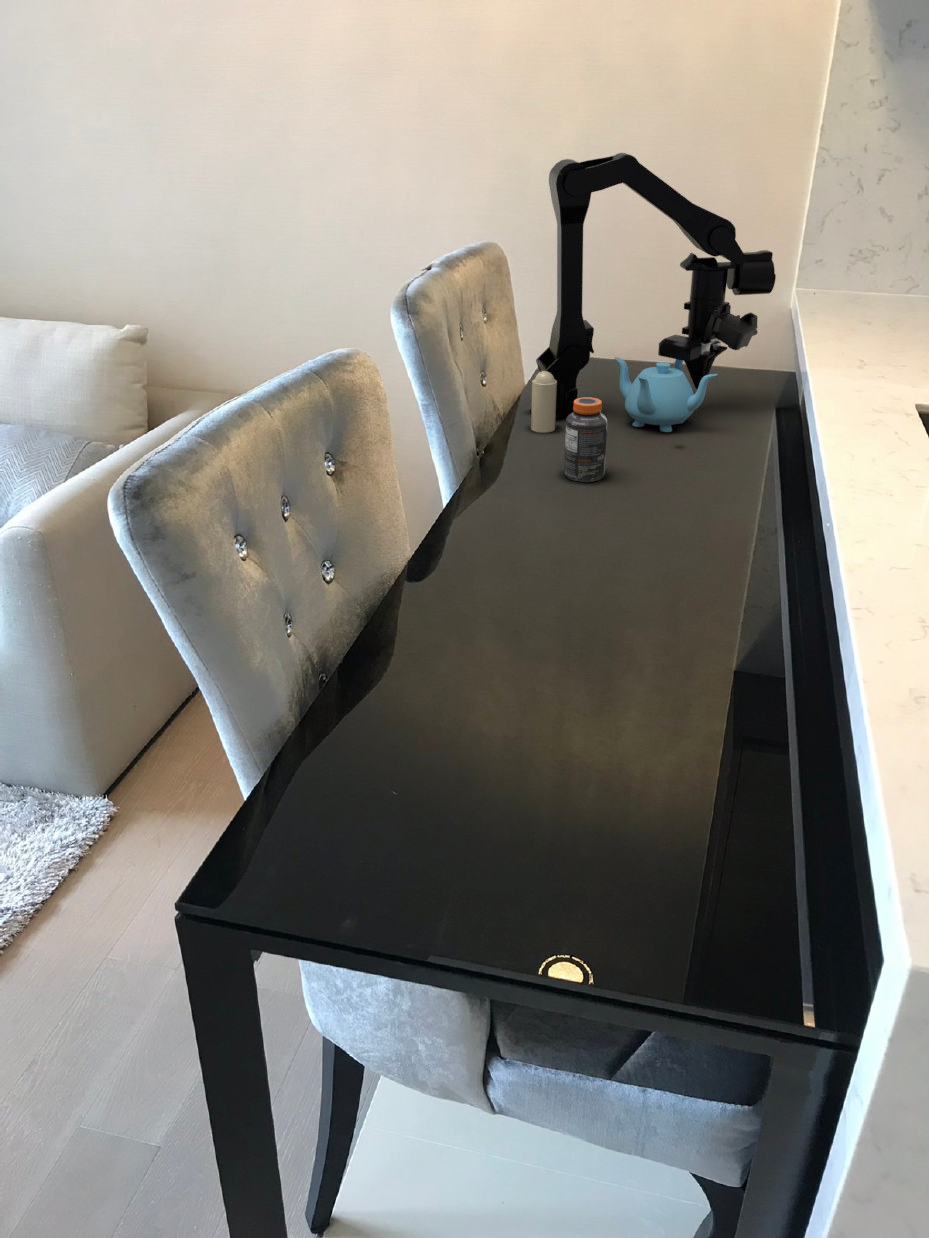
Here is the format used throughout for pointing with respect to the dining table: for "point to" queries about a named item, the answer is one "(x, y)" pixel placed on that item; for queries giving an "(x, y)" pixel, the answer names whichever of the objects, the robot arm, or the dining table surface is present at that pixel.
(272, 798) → the dining table surface
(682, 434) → the dining table surface
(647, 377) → the teapot
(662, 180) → the robot arm
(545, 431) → the salt shaker
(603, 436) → the pill bottle
